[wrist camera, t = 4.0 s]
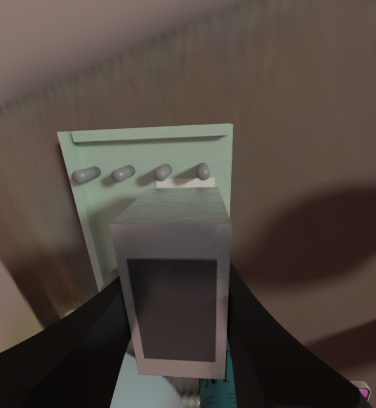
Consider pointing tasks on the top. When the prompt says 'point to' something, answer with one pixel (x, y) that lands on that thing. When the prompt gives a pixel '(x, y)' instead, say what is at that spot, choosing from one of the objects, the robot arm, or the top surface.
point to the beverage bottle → (219, 388)
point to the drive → (176, 279)
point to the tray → (138, 175)
